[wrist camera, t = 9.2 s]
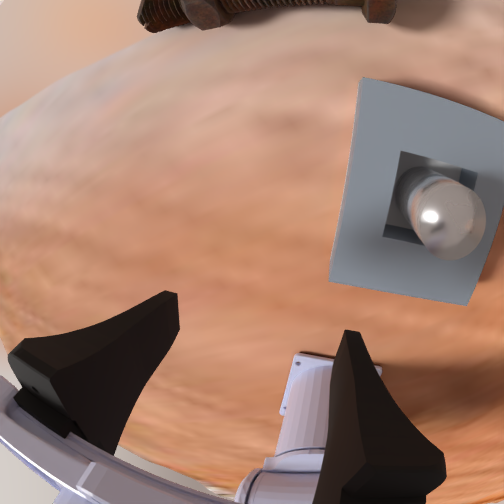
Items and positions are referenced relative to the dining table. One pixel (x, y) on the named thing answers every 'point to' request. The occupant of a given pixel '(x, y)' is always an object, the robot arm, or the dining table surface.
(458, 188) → the pin
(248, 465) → the dining table surface
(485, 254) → the hole block
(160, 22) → the bolt
